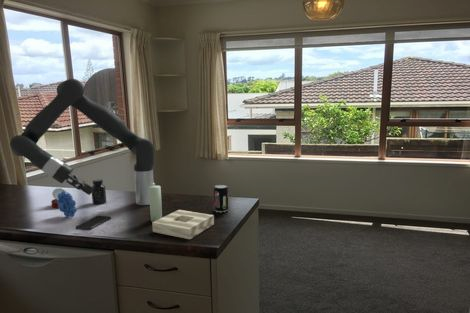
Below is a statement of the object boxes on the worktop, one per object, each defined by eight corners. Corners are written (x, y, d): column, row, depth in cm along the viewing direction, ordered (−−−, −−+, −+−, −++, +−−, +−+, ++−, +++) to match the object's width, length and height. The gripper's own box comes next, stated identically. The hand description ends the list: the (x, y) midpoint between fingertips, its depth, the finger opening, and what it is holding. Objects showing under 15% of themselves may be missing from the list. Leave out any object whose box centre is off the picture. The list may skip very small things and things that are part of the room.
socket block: (179, 218, 162) (178, 209, 161) (213, 224, 154) (213, 215, 153) (152, 231, 146) (152, 222, 145) (189, 239, 138) (189, 229, 137)
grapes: (51, 217, 165) (48, 192, 163) (64, 213, 171) (61, 188, 169) (68, 221, 160) (65, 195, 158) (81, 216, 166) (78, 191, 164)
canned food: (68, 211, 190) (75, 193, 192) (70, 214, 181) (78, 195, 183) (45, 204, 184) (53, 185, 186) (47, 207, 176) (56, 187, 177)
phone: (112, 216, 163) (90, 228, 149) (112, 219, 163) (90, 230, 149) (97, 215, 165) (74, 226, 151) (97, 217, 165) (74, 229, 151)
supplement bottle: (109, 201, 189) (107, 179, 187) (100, 205, 183) (98, 182, 181) (98, 200, 192) (96, 178, 190) (89, 204, 185) (87, 181, 183)
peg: (155, 217, 164) (154, 185, 161) (164, 218, 161) (162, 186, 159) (148, 220, 159) (146, 187, 157) (157, 222, 157) (155, 188, 154)
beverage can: (228, 212, 168) (228, 187, 166) (214, 213, 168) (213, 188, 166) (228, 208, 175) (227, 184, 173) (214, 209, 174) (213, 184, 172)
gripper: (60, 162, 142) (96, 186, 146) (66, 162, 155) (98, 183, 159) (48, 178, 140) (84, 201, 144) (54, 176, 154) (88, 197, 158)
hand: (92, 192), depth 152 cm, fingers open, 8 cm apart
